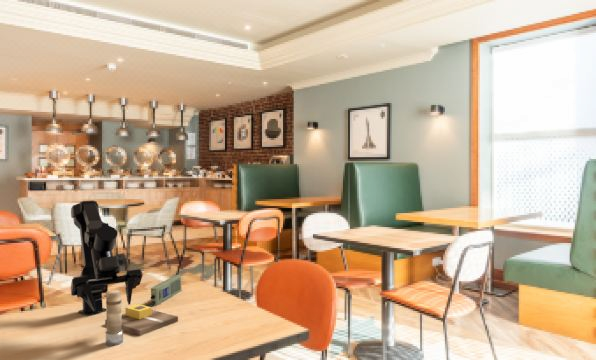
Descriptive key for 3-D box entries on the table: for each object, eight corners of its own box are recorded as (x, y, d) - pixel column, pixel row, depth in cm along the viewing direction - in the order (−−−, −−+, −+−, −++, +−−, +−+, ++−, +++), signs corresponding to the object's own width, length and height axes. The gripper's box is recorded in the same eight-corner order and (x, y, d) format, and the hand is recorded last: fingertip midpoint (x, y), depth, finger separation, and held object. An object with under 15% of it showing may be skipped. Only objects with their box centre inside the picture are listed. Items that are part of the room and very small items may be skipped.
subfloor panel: (105, 324, 133) (105, 319, 133) (143, 311, 145) (143, 307, 145) (140, 335, 124) (140, 330, 124) (177, 321, 136) (177, 316, 136)
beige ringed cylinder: (102, 343, 119) (101, 293, 118) (116, 338, 122) (116, 289, 122) (112, 347, 116) (111, 295, 116) (126, 341, 120) (125, 291, 120)
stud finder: (125, 315, 137) (125, 307, 137) (137, 311, 141) (137, 303, 141) (139, 319, 133) (139, 310, 133) (151, 315, 137) (151, 306, 137)
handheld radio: (183, 291, 171) (150, 311, 146) (175, 291, 171) (141, 311, 147) (182, 274, 171) (149, 292, 146) (174, 274, 171) (140, 292, 147)
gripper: (71, 248, 119) (78, 297, 110) (140, 241, 130) (151, 285, 121) (68, 271, 126) (74, 319, 117) (134, 263, 136) (144, 306, 128)
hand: (112, 307), depth 120 cm, fingers open, 9 cm apart
